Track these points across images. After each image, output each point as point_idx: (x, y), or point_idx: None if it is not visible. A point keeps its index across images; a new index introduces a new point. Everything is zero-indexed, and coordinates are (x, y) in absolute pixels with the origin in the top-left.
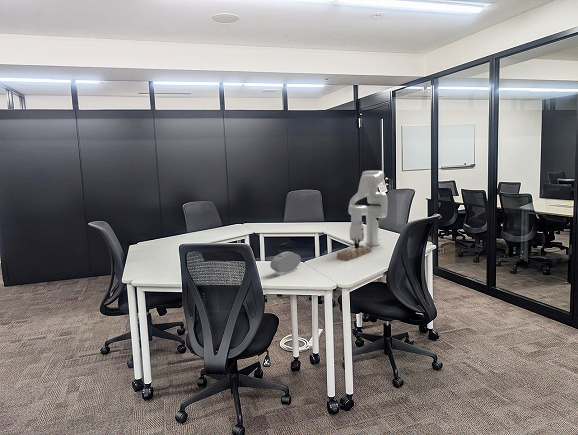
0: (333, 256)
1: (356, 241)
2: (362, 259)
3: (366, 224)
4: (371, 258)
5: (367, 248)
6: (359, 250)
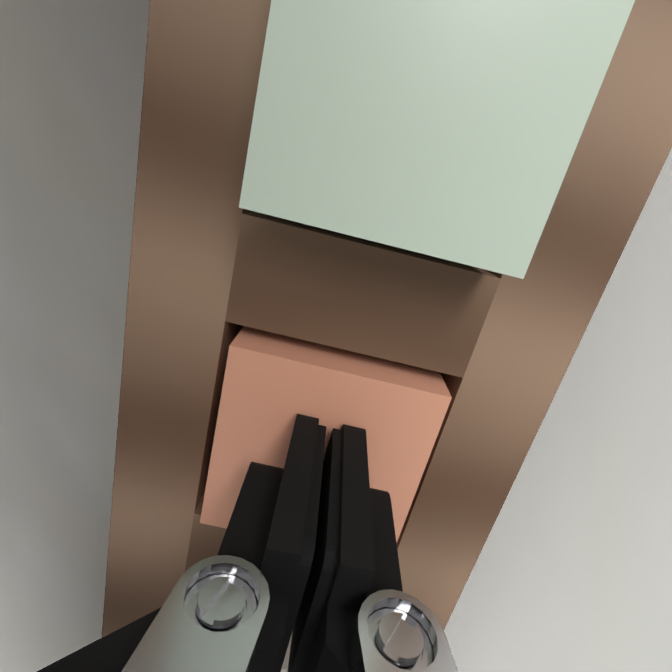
0: (9, 612)
1: (254, 652)
2: (512, 669)
3: None
4: (657, 593)
5: (624, 225)
6: (436, 585)
